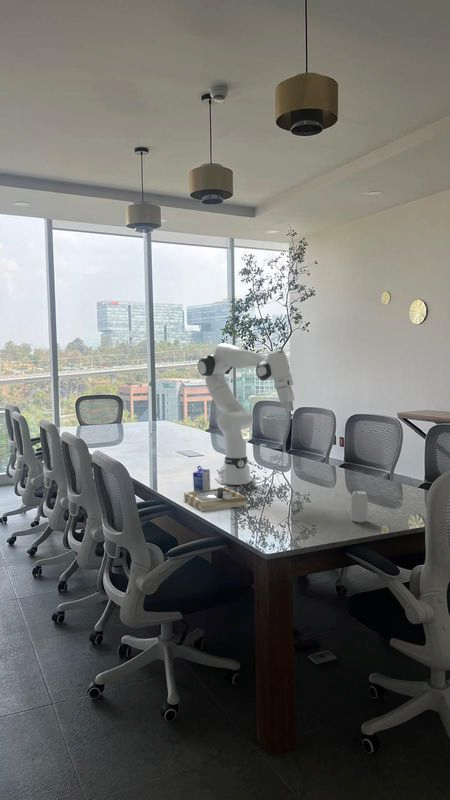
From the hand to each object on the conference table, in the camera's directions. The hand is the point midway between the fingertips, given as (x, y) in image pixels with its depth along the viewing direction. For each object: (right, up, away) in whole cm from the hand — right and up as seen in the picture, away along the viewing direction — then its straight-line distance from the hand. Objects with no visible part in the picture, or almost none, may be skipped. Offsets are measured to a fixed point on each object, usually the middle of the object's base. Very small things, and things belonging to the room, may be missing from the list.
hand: (290, 411), depth 283 cm
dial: (-36, -41, -8) cm, 55 cm away
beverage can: (+24, -44, -42) cm, 65 cm away
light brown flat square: (-36, -43, -8) cm, 56 cm away
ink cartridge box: (-43, -42, +9) cm, 60 cm away
